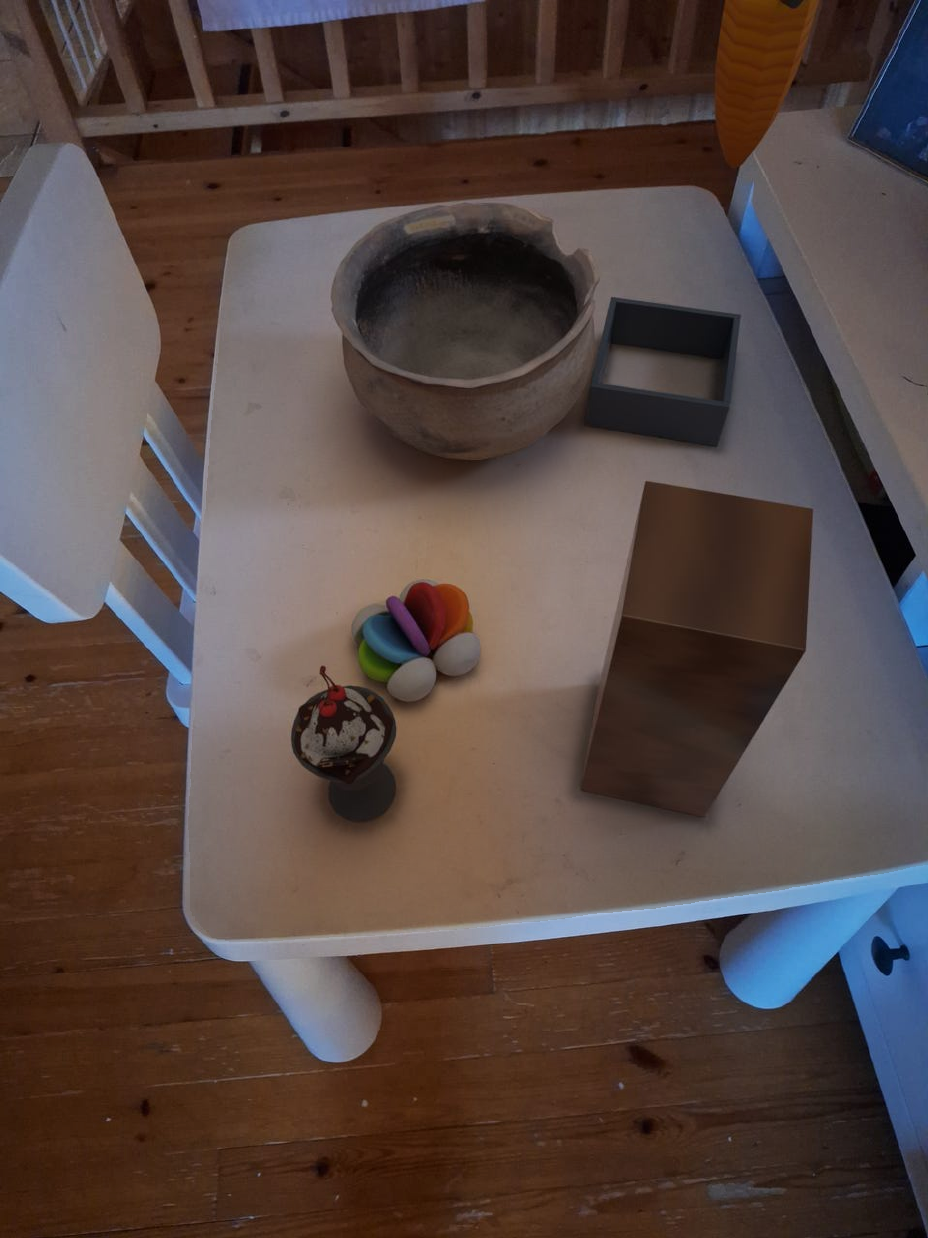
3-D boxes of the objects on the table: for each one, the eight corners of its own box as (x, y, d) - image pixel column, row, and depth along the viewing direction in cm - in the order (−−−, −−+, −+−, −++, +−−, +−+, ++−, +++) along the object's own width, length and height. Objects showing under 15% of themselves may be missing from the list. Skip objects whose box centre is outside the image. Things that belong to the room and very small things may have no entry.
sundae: (354, 730, 68) (323, 628, 55) (425, 778, 66) (410, 683, 53) (297, 799, 65) (250, 708, 53) (369, 851, 63) (339, 769, 51)
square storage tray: (728, 355, 88) (741, 314, 84) (717, 446, 82) (729, 407, 78) (605, 337, 90) (611, 296, 86) (585, 425, 84) (590, 385, 80)
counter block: (716, 706, 69) (813, 508, 48) (705, 817, 64) (806, 650, 44) (599, 682, 70) (645, 479, 49) (579, 790, 65) (621, 615, 45)
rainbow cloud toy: (497, 662, 71) (498, 613, 65) (391, 723, 69) (381, 678, 62) (441, 587, 75) (437, 534, 69) (339, 642, 72) (324, 592, 66)
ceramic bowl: (624, 466, 81) (649, 334, 69) (395, 535, 78) (376, 410, 65) (531, 312, 92) (537, 174, 80) (327, 367, 89) (299, 231, 76)
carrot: (694, 143, 59) (747, -145, 46) (772, 147, 58) (848, -143, 45) (693, 188, 56) (749, -104, 43) (774, 192, 56) (856, -101, 43)
